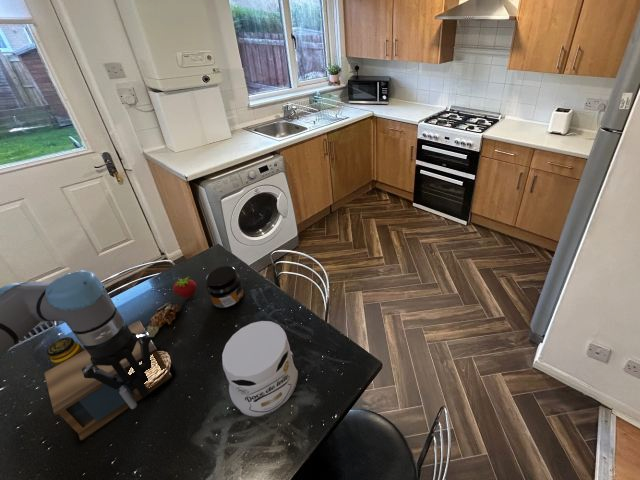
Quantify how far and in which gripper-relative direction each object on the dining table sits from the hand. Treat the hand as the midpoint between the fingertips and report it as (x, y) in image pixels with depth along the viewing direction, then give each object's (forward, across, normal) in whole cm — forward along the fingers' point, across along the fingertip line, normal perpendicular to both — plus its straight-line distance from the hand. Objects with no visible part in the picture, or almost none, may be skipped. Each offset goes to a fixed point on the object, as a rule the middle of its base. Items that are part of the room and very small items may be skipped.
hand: (144, 391), depth 80 cm
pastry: (+6, +11, +26) cm, 29 cm away
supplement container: (+6, +30, +18) cm, 35 cm away
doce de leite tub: (+6, +22, -20) cm, 30 cm away
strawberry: (+6, +21, +30) cm, 37 cm away
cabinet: (+5, -4, +11) cm, 13 cm away
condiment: (+6, -11, +26) cm, 29 cm away
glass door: (+4, -5, +2) cm, 7 cm away
